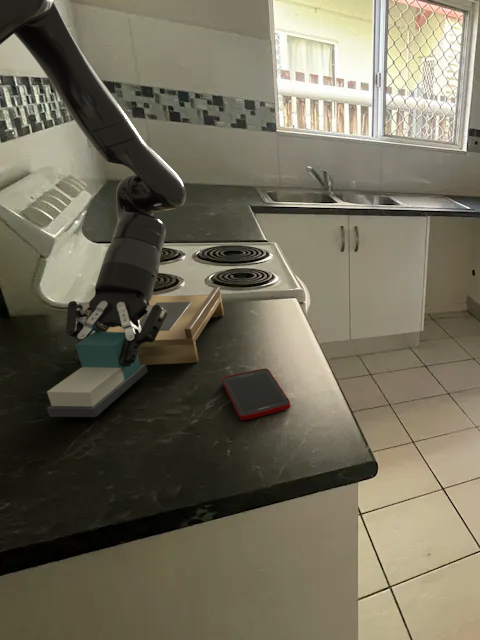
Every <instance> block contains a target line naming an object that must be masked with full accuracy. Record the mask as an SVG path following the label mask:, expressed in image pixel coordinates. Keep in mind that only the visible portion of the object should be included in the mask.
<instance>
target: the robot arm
mask: <svg viewBox="0 0 480 640" xmlns="http://www.w3.org/2000/svg"><path fill="white" fill-rule="evenodd" d="M13 35H15V36H16V38H17V39H18V40H19V41H20V42H21V43H22V44H23V46H24V47H25V49H26V50H27V51H28V52H29V53H30V55H32V58H34V60H35V61H36V63H37V64H38V65H39V67H40V68H41V69H42V71H43V72H44V74H45V75H46V77H47V79H48V80H49V82H50V83H51V85H52V87H53V89H54V90H55V92H56V93H57V95H58V96H59V99H60V100H61V102H62V103H63V105H64V106H65V108H66V109H67V111H68V113H69V114H70V116H71V117H72V119H73V120H74V122H75V123H76V124H77V126H78V128H79V129H80V130H81V132H82V133H83V134H84V137H86V139H87V140H88V141H89V142H90V144H91V145H92V147H93V148H94V149H95V151H96V152H97V153H98V154H99V156H100V157H101V158H102V160H104V161H105V163H108V164H110V165H116V166H122V167H126V168H127V169H129V170H130V171H131V172H133V174H129V175H126V176H125V177H123V178H122V179H121V181H119V183H118V185H117V187H116V191H115V201H116V202H115V203H116V204H115V205H116V216H117V217H116V218H117V223H116V225H115V229H114V232H113V235H112V239H111V241H110V244H109V245H108V247H107V249H106V251H105V253H104V257H103V261H102V264H101V267H100V269H99V273H98V277H97V280H96V282H95V287H94V291H95V294H94V295H93V297H92V298H91V299H90V300H89V302H80V303H79V302H77V301H75V300H71V301H69V302H68V304H67V315H66V324H65V325H66V326H65V334H66V335H68V336H69V337H72V338H73V339H76V340H77V343H78V342H80V341H81V340H83V339H85V338H86V337H88V336H89V335H91V334H93V333H94V332H96V331H99V332H106V331H107V330H108V329H109V327H117V326H120V327H123V329H124V331H125V336H126V339H127V341H124V343H123V346H122V350H121V354H120V357H119V361H118V363H119V364H120V365H122V366H128V367H129V366H131V363H134V362H135V360H136V356H137V352H138V349H139V346H140V345H141V344H142V343H144V342H153V341H154V340H155V338H156V336H157V334H158V332H159V330H160V328H161V326H162V324H163V322H164V320H165V318H166V316H167V311H165V310H164V309H163V308H162V307H160V306H159V305H154V306H151V305H149V301H150V299H151V297H152V296H153V293H154V289H155V285H156V281H157V278H158V274H159V271H160V267H161V255H162V251H163V247H164V244H165V241H166V240H165V239H166V236H167V228H166V226H165V224H164V223H163V222H162V221H161V220H160V219H159V218H157V217H155V216H154V215H155V213H158V212H164V211H171V210H176V209H179V208H181V207H182V206H183V205H184V204H185V203H186V200H187V189H186V187H185V185H184V183H183V181H182V179H181V178H180V176H179V175H178V173H176V171H175V170H174V169H173V168H172V167H171V166H170V165H169V164H168V163H167V162H166V161H164V159H162V157H160V156H159V155H158V153H157V152H156V151H154V149H152V148H151V147H150V146H149V145H148V144H147V143H146V142H145V141H144V140H143V138H142V136H141V135H140V133H139V132H138V130H137V129H136V127H135V125H134V124H133V123H132V122H131V120H130V118H129V117H128V115H127V113H125V111H124V110H123V108H122V106H121V105H120V104H119V103H118V101H117V99H116V97H114V95H113V94H112V93H111V91H110V90H109V89H108V87H107V86H106V85H105V83H104V82H103V80H102V79H101V78H100V76H99V75H98V73H97V72H96V71H95V69H94V68H93V67H92V65H91V64H90V61H88V59H87V57H86V56H85V55H84V53H83V51H82V50H81V48H80V47H79V45H78V43H77V42H76V40H75V38H74V37H73V35H72V33H71V31H70V30H69V28H68V26H67V24H66V22H65V20H64V17H63V16H62V14H61V12H60V10H59V7H58V6H57V3H56V1H55V0H0V46H1V45H2V44H3V43H4V42H5V41H7V40H8V39H10V37H11V36H13ZM90 312H92V313H91V314H89V313H90ZM145 314H147V316H148V317H147V319H146V321H145V323H144V325H143V327H142V329H141V326H140V322H139V319H141V318H142V317H143V316H144V315H145ZM87 317H88V318H87ZM98 323H100V324H98ZM73 360H75V361H74V362H75V363H76V364H78V365H81V362H80V359H79V355H78V352H77V349H76V348H75V350H74V353H73ZM81 366H82V365H81Z"/></svg>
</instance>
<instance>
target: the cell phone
mask: <svg viewBox="0 0 480 640" xmlns="http://www.w3.org/2000/svg"><path fill="white" fill-rule="evenodd" d="M221 382H222V386H223V388H224V389H225V392H226V394H227V396H228V398H229V400H230V402H231V403H232V406H233V408H234V410H235V413H236V415H237V416H238V418H239V419H240V421H249V420H253V419H256V418H260V417H264V416H267V415H272V414H275V413H279V412H283V411H285V410H288V409H290V408H291V407H292V406H291V401H290V399H289V397H288V396H287V394H286V393H285V391H284V390H283V388H282V387H281V386H280V384H279V383H278V381H277V380H276V378H275V377H274V375H273V374H272V372H271V371H270V369H268V368H259V369H254V370H250V371H245V372H239V373H236V374H235V373H234V374H231V375H227V376H224V377H222V378H221Z"/></svg>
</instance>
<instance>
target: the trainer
mask: <svg viewBox="0 0 480 640" xmlns="http://www.w3.org/2000/svg"><path fill="white" fill-rule="evenodd" d="M124 341H127V339H126V336H125V332H99V331H96V332H94V333H93V334H91V335H89V336H88V337H86V338H85V339H83V340H81V341H80V342H78V341H77V343H75V344H74V345H75V350H76V349H77V352H78V355H79V359H80V362H81V367H80V368H79V369H77V370H76V371H74V372H72V373H71V374H70V375H68V376H67V377H65V378H64V379H63V380H61V381H60V382H59V383H57V384H55V385H54V386H53V387H51V388H50V389H49V390H47V391H46V393H47V397H48V399H49V403H50V405H49V406H48V407H46V410H47V414H48V416H49V417H50V418H97V417H98V416H99V415H100V414H101V413H102V412H103V411H105V410H106V409H107V408H108V407H109V406H111V405H112V404H113V403H114V402H115V401H116V400H117V399H118V398H120V397H121V396H122V395H123V394H124V393H125V392H126V391H128V390H129V389H130V388H131V387H132V386H133V385H134V384H136V383H137V382H138V381H139V380H140V379H141V378H143V376H145V375H146V374H147V373H148V366H147V365H146V364H140V362H139V358H138V354H137V356H136V360H135V362H134V363H131V366H129V367H128V366H122V365H120V364H119V363H118V361H119V357H120V354H121V350H122V346H123V343H124Z"/></svg>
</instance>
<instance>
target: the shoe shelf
mask: <svg viewBox="0 0 480 640" xmlns="http://www.w3.org/2000/svg"><path fill="white" fill-rule="evenodd" d="M149 305H151V306H154V305H159V306H160V307H162V308H163V309H164V310H165V311H167V316H166V318H165V320H164V322H163V324H162V326H161V328H160V330H159V332H158V334H157V336H156V338H155V340H154V341H153V342H144V343H142V344H141V345H140V346H139V349H138V352H137V354H138V358H139V362H140V364H146V366H154V365H155V366H156V365H174V364H190V363H191V364H193V363H194V364H195V363H198V362H199V360H200V358H199V354H198V349H197V344H196V343H197V342H196V341H197V340H198V338H199V337H200V335H201V334H202V332H203V331H204V329H205V327H206V326H207V324H208V323H209V321H210V319H211V318H223V317H224V316H225V311H224V306H223V300H222V294H221V287H220V286H214V287H213V289H212V290H211V291H210V293H209V294H208V295H207V294H205V295H204V294H203V295H201V294H200V295H199V294H198V295H196V294H195V295H152V297H151V299H150V301H149ZM218 316H219V317H218ZM220 316H221V317H220ZM222 316H223V317H222ZM147 317H148V316H147V314H145V315H144V316H143V317H142V318H141V319H139V322H140V326H141V329H142V327H143V325H144V323H145V321H146V319H147ZM106 332H125V331H124V329H123V327H120V326H117V327H109V329H108V330H107V331H106Z"/></svg>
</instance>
